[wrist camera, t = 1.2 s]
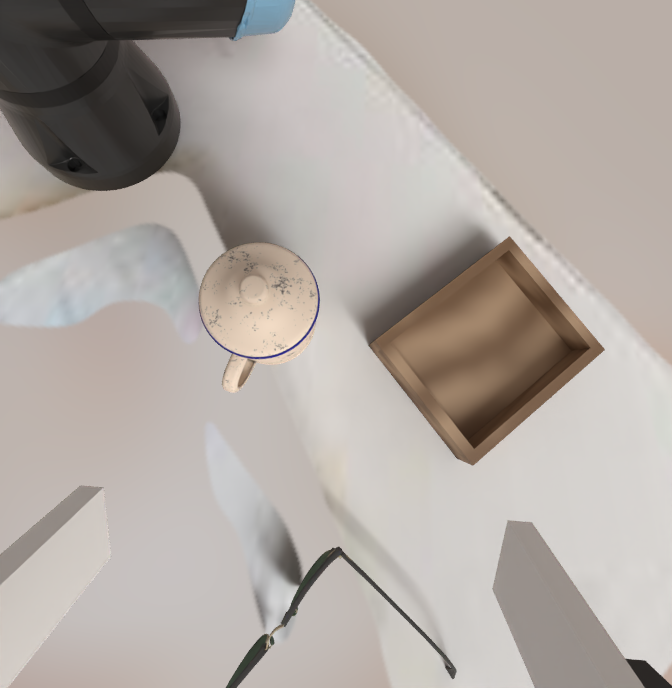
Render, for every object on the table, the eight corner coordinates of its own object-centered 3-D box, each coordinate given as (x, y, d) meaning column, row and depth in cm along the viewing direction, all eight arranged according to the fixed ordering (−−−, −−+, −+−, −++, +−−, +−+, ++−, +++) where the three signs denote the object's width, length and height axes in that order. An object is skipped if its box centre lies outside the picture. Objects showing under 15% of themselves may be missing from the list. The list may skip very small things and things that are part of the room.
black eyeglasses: (362, 813, 30) (372, 896, 25) (211, 681, 31) (192, 737, 26) (472, 642, 33) (501, 686, 28) (331, 523, 33) (334, 546, 28)
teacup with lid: (248, 264, 36) (218, 203, 24) (331, 298, 36) (340, 253, 24) (197, 374, 34) (139, 364, 22) (285, 409, 34) (271, 417, 23)
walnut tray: (368, 345, 35) (374, 340, 32) (491, 250, 38) (509, 236, 34) (456, 458, 34) (473, 465, 31) (577, 353, 37) (605, 349, 33)
